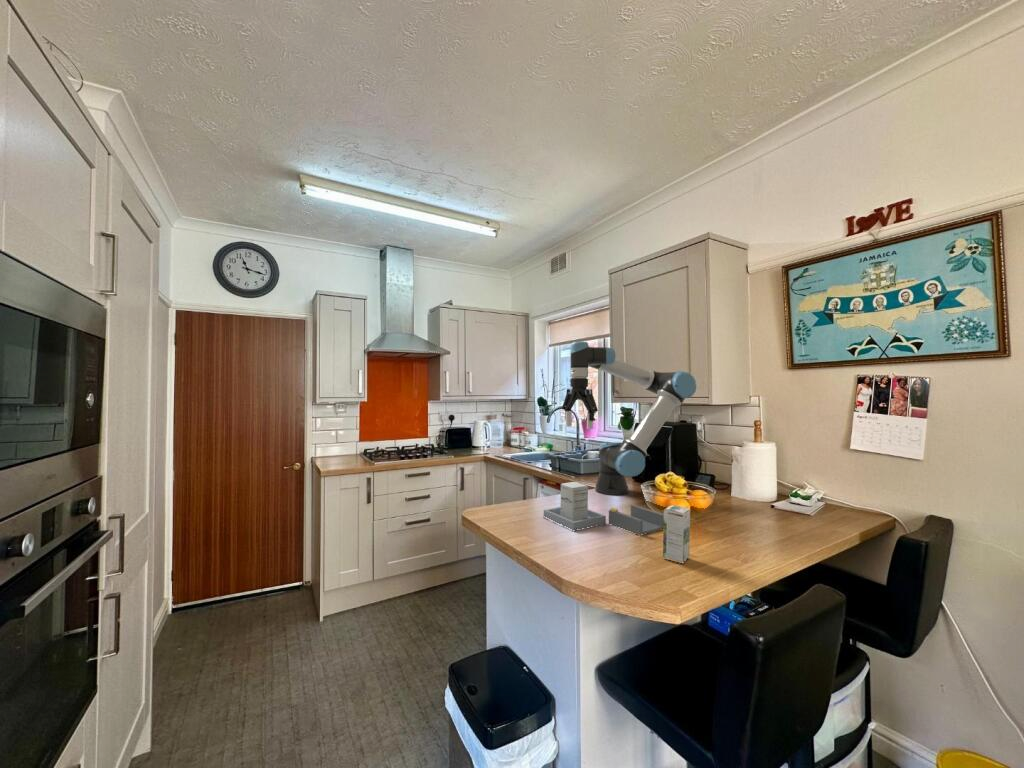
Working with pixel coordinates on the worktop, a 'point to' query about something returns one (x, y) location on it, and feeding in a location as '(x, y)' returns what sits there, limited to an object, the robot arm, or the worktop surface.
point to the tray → (592, 520)
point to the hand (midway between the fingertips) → (579, 427)
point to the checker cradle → (637, 520)
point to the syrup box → (676, 533)
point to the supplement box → (574, 501)
